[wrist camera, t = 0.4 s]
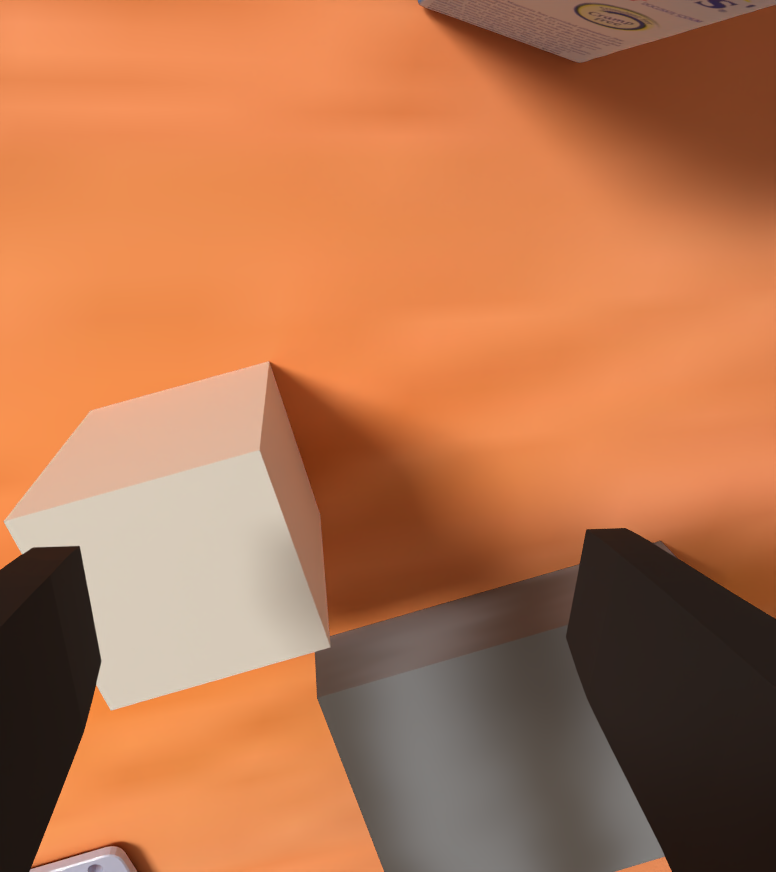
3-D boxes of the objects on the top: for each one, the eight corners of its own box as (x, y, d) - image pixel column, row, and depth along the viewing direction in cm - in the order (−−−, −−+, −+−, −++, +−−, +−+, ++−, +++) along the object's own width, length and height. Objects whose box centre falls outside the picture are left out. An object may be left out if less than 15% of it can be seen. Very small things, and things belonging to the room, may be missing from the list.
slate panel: (396, 855, 27) (408, 934, 25) (313, 631, 22) (317, 697, 20) (675, 772, 28) (718, 840, 25) (653, 533, 23) (703, 585, 20)
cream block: (160, 558, 20) (111, 710, 15) (90, 410, 18) (3, 521, 13) (320, 513, 20) (330, 647, 15) (268, 360, 18) (259, 450, 13)
